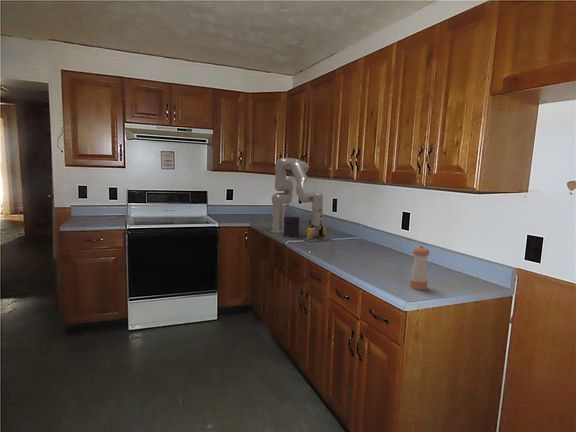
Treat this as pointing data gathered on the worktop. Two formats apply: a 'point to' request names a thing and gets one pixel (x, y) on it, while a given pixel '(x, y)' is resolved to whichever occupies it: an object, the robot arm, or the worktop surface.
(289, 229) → the calculator
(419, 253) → the pepper shaker
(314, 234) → the candy box
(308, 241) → the mat
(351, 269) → the worktop surface
